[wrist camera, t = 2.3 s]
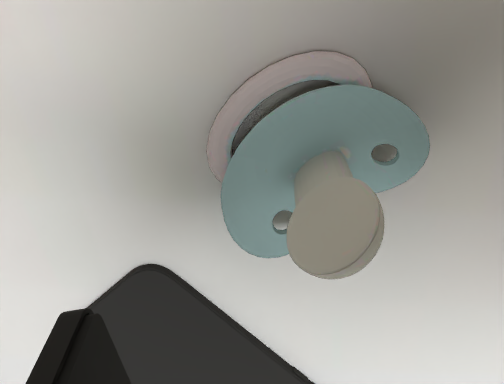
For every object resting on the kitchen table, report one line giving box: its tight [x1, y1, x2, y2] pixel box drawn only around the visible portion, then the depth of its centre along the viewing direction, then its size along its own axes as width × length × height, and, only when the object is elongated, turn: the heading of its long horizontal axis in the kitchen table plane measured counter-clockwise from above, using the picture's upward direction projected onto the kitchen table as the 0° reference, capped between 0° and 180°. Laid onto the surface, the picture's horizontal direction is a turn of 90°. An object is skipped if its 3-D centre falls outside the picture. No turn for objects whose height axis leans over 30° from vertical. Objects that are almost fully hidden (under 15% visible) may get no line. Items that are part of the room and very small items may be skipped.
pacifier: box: [206, 51, 430, 279], centre depth 15 cm, size 7×6×6 cm
